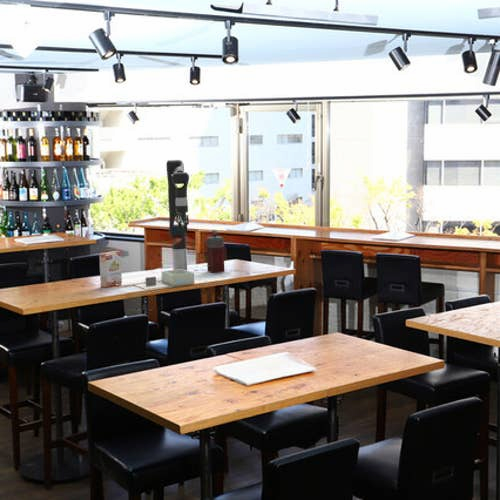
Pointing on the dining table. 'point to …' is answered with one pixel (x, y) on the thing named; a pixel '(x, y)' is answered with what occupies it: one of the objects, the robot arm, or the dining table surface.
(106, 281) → the cracker box
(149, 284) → the lid
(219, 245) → the dark red pepper mill
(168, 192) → the robot arm
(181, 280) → the box
